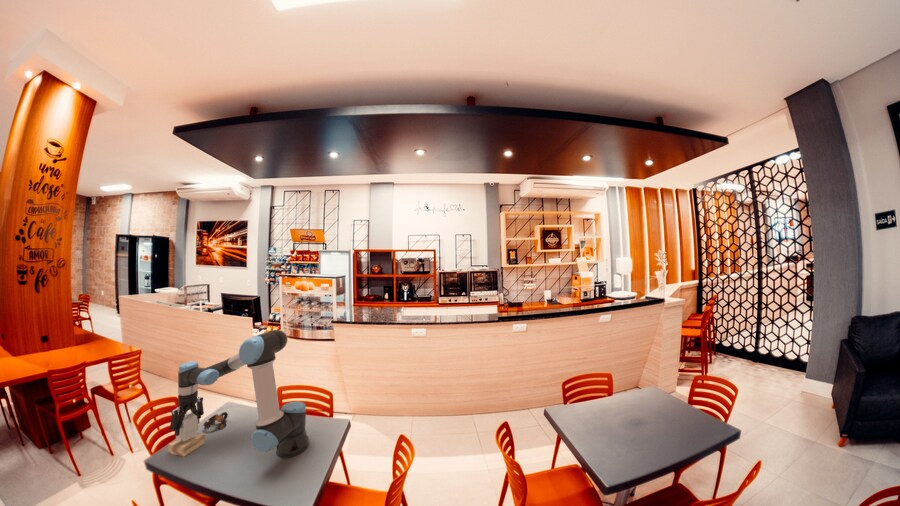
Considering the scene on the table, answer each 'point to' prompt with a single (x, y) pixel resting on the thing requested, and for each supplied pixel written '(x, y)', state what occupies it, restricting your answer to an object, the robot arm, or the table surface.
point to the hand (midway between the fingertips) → (187, 435)
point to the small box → (189, 426)
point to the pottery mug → (218, 418)
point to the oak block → (186, 445)
